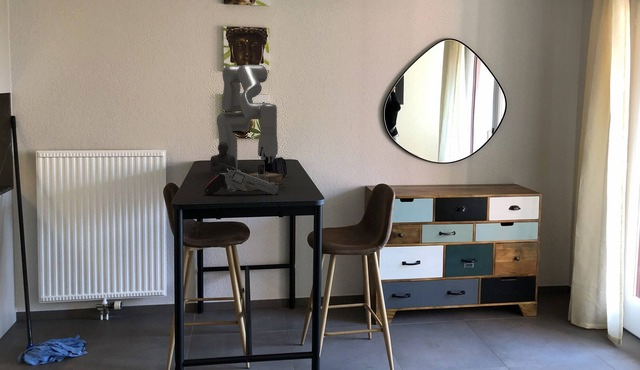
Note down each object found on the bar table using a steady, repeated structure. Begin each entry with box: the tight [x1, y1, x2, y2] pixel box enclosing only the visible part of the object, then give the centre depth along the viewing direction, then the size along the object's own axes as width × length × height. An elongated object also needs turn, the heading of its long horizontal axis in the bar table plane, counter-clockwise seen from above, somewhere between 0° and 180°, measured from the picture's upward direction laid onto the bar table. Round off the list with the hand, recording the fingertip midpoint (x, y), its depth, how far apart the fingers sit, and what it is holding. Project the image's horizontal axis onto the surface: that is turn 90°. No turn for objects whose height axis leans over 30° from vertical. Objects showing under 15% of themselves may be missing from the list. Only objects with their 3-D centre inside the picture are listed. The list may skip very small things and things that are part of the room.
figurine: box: [209, 142, 236, 178], centre depth 320 cm, size 12×8×20 cm, turn 92°
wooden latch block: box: [228, 171, 283, 192], centre depth 317 cm, size 14×26×5 cm, turn 149°
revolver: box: [203, 167, 280, 196], centre depth 294 cm, size 4×29×15 cm, turn 95°
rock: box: [267, 156, 288, 178], centre depth 345 cm, size 10×6×10 cm, turn 142°
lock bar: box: [257, 163, 267, 176], centre depth 318 cm, size 15×3×6 cm, turn 1°
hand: (268, 171), depth 313 cm, fingers closed
